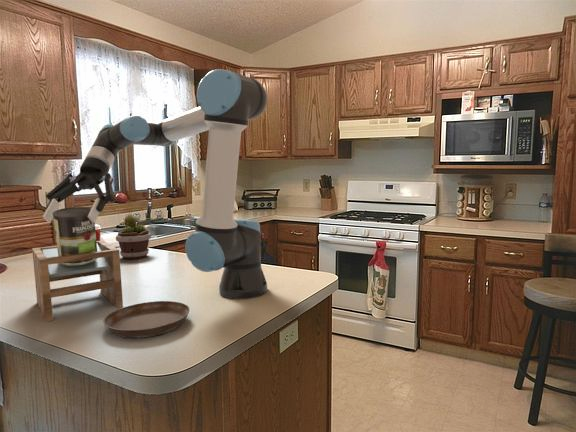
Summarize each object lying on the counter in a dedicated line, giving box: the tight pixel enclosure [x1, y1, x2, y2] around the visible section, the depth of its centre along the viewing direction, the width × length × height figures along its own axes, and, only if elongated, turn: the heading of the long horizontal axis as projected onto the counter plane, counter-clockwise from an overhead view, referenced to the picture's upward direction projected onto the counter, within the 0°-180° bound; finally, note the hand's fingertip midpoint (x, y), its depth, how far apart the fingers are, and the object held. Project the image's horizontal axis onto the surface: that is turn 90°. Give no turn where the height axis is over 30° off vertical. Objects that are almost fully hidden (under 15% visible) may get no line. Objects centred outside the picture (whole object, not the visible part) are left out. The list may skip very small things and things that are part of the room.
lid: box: [42, 244, 109, 278], centre depth 121 cm, size 15×15×1 cm
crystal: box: [100, 231, 120, 248], centre depth 213 cm, size 7×7×24 cm
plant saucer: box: [103, 300, 190, 339], centre depth 106 cm, size 21×21×3 cm
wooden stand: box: [31, 241, 124, 322], centre depth 122 cm, size 20×20×16 cm
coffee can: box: [53, 206, 97, 266], centre depth 117 cm, size 10×10×14 cm
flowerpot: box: [116, 212, 152, 260], centre depth 184 cm, size 14×15×20 cm
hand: (68, 219), depth 115 cm, fingers open, 13 cm apart
